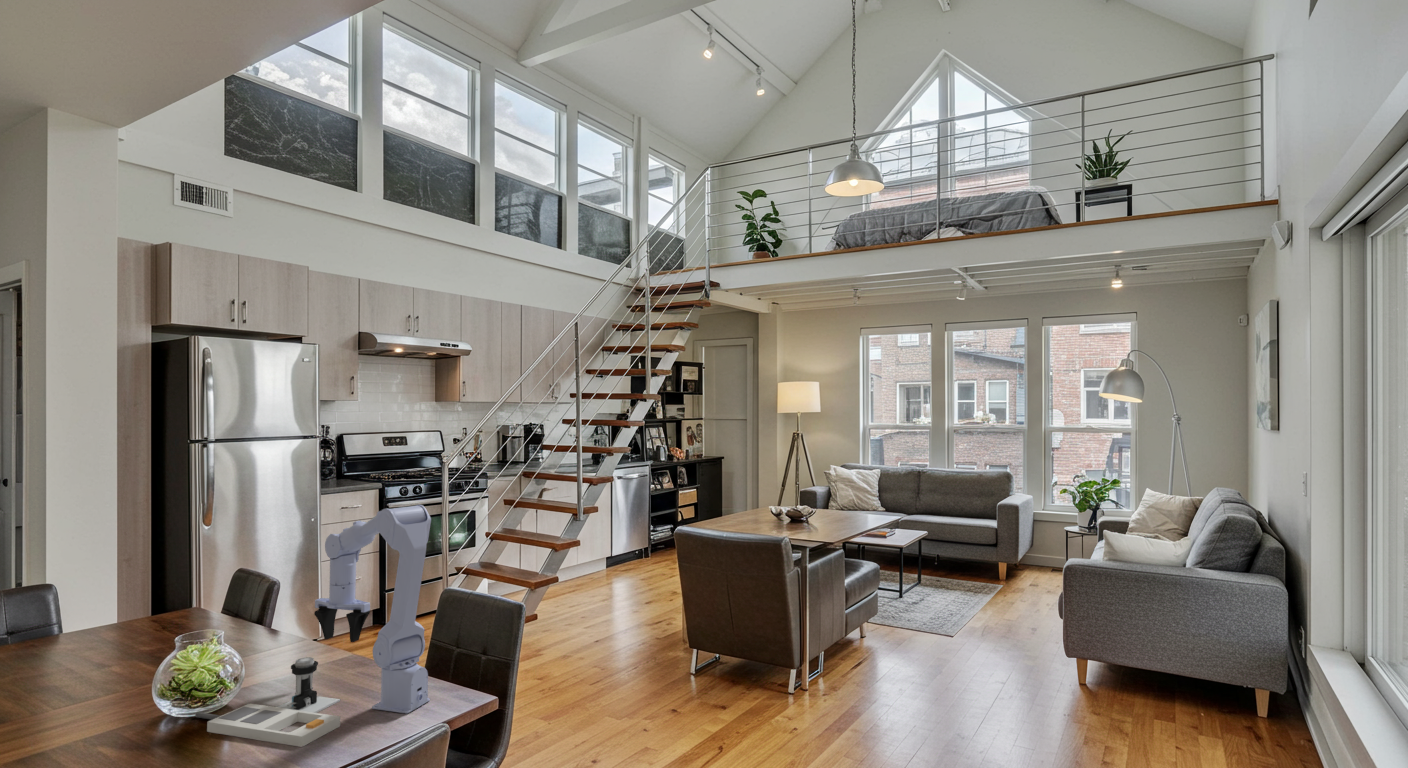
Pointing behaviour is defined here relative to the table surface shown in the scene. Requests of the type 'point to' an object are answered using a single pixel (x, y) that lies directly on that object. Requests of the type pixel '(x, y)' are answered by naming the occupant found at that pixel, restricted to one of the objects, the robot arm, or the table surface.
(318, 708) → the mat
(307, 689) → the push button
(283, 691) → the table surface
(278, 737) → the white compartment tray
